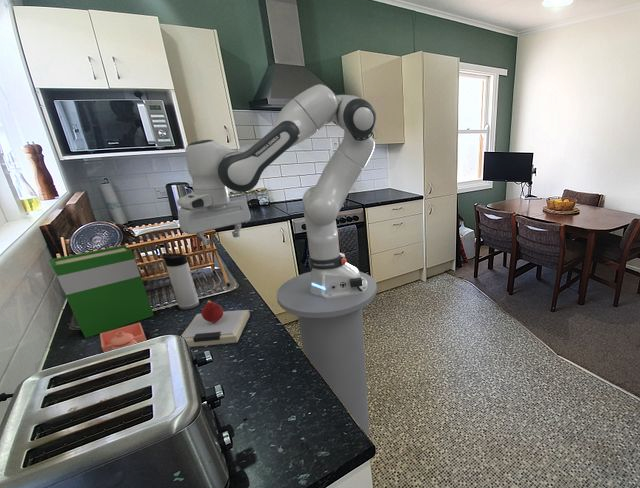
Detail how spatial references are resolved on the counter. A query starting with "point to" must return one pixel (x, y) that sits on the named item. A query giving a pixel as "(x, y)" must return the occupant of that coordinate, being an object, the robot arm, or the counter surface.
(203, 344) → the scale
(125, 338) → the red box
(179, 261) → the travel mug
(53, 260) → the green box
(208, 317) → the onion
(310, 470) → the counter surface
